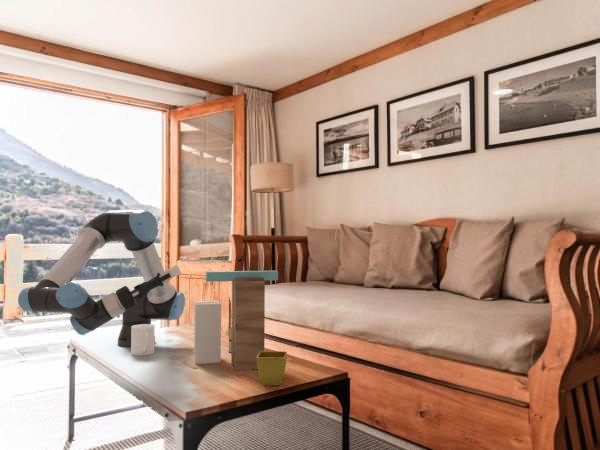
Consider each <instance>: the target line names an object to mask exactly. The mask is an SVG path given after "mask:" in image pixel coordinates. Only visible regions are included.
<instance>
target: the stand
mask: <svg viewBox="0 0 600 450" xmlns="http://www.w3.org/2000/svg"><path fill="white" fill-rule="evenodd" d="M265 283H266V280H264V277H252V278H235V281H231V327H232V345H231V353H230V354H231V355H230V356H231V358H230V359H231V361H230V362H231V367H232V368H233V370H234V371H235V372H241V370H244V371H252V370H251V369H257V359H256V357H257V355H258V354H259V352H260V351H265V324H266V323H265V321H266V320H265V317H266V316H265V311H266V310H265V309H266V307H265V305H266V304H265V303H266V301H265V298H266V296H265V295H266V294H265V292H266V291H265V289H266V288H265V287H266V286H265V285H266V284H265Z"/></svg>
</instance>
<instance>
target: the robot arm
mask: <svg viewBox="0 0 600 450" xmlns="http://www.w3.org/2000/svg"><path fill="white" fill-rule="evenodd" d="M158 227H159V224H158V220H157V218H156V217H155V215H154V214H153V213H152V212H150V211H149V210H144V209H143V210H142V209H134V210H116V209H115V210H108V211H104V212H102V213H99V214H98V215H97V216H95V217H94V218H92V219H90V220H89V221H88V222H87V223H86V224H85V225H84V226H83V227H82V228H81V230H79V233H78V237H77V238H76V239H75V241H74V242H73V243H72V244H71V245H70V246H69V248H67V249H66V250H65V252H64V253H63V254H62V256H60V257H59V259H58V260H57V261H56V262H55V264H53V265H52V267H51V268H50V269H49V270H48V271H47V272H46V273H45V275H43V277H42V278H41V279H40V280H39V281H38V283H37V284H36V285H35V286H28V287H25V288H22V290H21V291H20V292H19V294H18V297H17V302H18V305H19V307H20V309H21V310H23V311H24V312H25V311H26V312H32V313H60V314H61V313H62V314H63V313H64V314H70V317H69V321H70V325H71V326H72V328H73V329H74V331H75V332H76V333H77V334H78V335H79V336H85V335H86V334H88V333H90V332H93V331H95V330H96V329H98V328H99V327H101V326H103V325H106V324H107V323H108V322H110V321H112V320H113V319H115V318H121V315H122V324H121V325H122V327H121V328H120V332H119V335H118V337H117V345H118V346H120V347H129V348H131V327H132V326H134V325H139V324H152V320H161V321H162V320H163V321H164V320H165V321H175V320H176V321H177V320H179V319H180V318H181V316H182V315H183V313H184V309H185V305H186V304H185V303H186V297H185V294H184V292H182V291H177V289H176V287H175V286H174V285H173V284H172V283H170V281H169V280H172V279H174V278H175V277H177V276H178V275H180V274H182V271H181V269H180V267H179V265H178V264H175V265H173V266H172V267H170V268H168V269H166V270H165V269H164V265H163V264H162V261H161V258H160V255H159V254H158V253H159V252H158V250H157V247H156V246H155V242H156V238H157V237H158V233H159V229H158ZM111 242H122V243H123V245H124V247H125V249H126V250H127V251H129V252H131V253H132V256H133V257H134V260H135V262H136V264H137V267H138V269H139V272H140V273H141V276H142V278H143V280H144V282H141V283H140V284H137V285H134V286H133V289H131V290H130V288H129V287H128V286H127V285H124V286H123V287H121V288H118V289H117V290H116V291H115V292H111V293H110V294H107V295H105V296H103V297H102V298H100V299H99V300H97V301H96V300H94V299H93V297H92V296H91V295H90V294H89V292H87V290H86V288H84V287H83V286H82V285H81V284H80V283H78V282H76V281H73V280H74V279H75V277H76V276H77V275H78V273H80V271H81V270H82V269H83V267H84V266H85V265H86V263H87V262H88V261H89V260H90V259H91V258H92V256H93V255H94V254H95V252H96V251H97V250H99V249H102V248H103V247H104V246H105V245H106V244H107V243H111ZM155 338H156V336H155V335H154V343H155V342H156V339H155Z"/></svg>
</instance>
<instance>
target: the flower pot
mask: <svg viewBox="0 0 600 450" xmlns="http://www.w3.org/2000/svg"><path fill="white" fill-rule="evenodd" d="M287 354H288V352H287V351H280V350H279V351H275V350H274V351H270V350H269V351H265V350H264V351H260V352H259V354H258V355H257V357H256V359H257V369H258V370H257V375H258V378H259V381H260V383H261V384H262V386H265V385H266V386H272V385H279V386H280V385H281V384H282V381H283V380H284V376H285V375H284V374H285V371H286V367H287V366H286V365H287Z"/></svg>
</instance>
